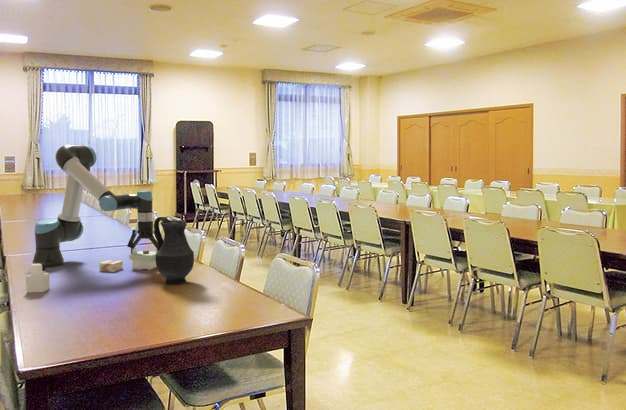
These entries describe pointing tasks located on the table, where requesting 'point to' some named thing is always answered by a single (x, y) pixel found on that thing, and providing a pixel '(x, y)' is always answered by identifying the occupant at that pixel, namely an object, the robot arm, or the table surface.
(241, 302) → the table surface
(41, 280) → the medicine bottle
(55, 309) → the table surface
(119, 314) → the table surface
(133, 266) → the dish
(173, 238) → the pitcher
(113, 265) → the stand
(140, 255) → the lid
